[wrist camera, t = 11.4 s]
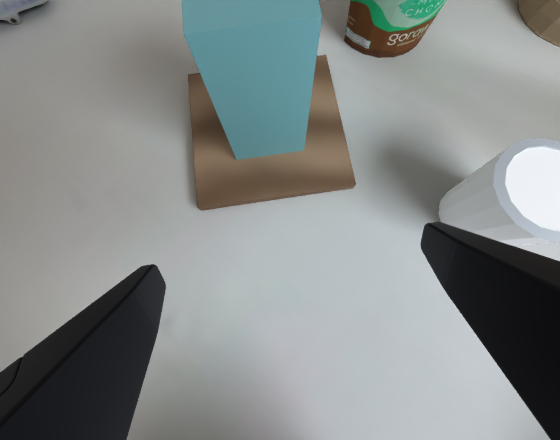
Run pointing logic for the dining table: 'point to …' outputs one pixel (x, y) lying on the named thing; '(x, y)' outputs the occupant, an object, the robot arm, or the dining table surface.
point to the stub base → (274, 168)
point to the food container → (389, 25)
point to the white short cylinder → (510, 196)
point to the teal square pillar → (257, 68)
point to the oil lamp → (542, 18)
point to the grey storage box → (16, 9)
